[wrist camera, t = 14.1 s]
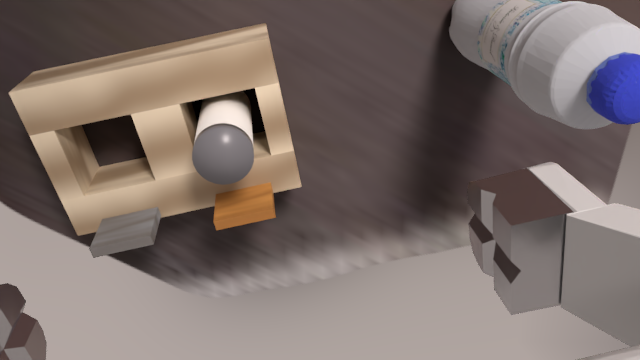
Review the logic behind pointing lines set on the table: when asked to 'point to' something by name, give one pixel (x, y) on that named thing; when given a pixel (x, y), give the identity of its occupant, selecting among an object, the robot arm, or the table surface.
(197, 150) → the white grey cylinder
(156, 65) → the socket block
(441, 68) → the table surface
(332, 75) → the table surface
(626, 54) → the bottle
